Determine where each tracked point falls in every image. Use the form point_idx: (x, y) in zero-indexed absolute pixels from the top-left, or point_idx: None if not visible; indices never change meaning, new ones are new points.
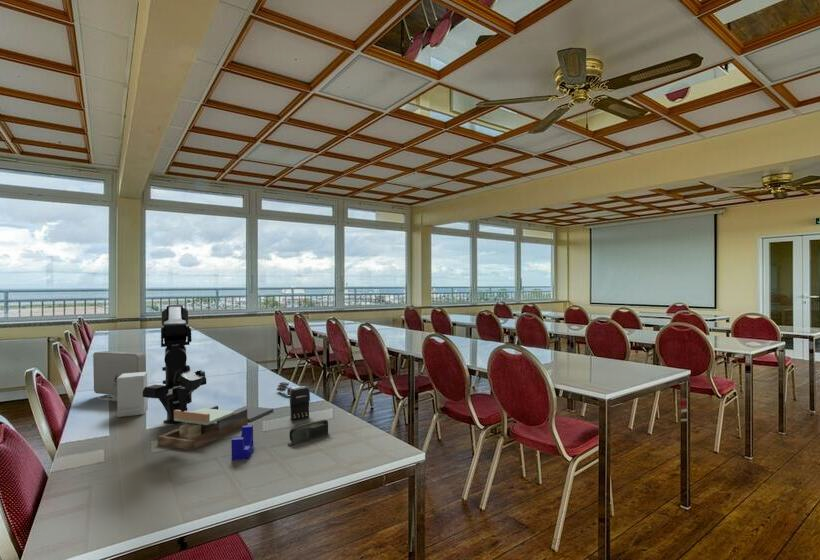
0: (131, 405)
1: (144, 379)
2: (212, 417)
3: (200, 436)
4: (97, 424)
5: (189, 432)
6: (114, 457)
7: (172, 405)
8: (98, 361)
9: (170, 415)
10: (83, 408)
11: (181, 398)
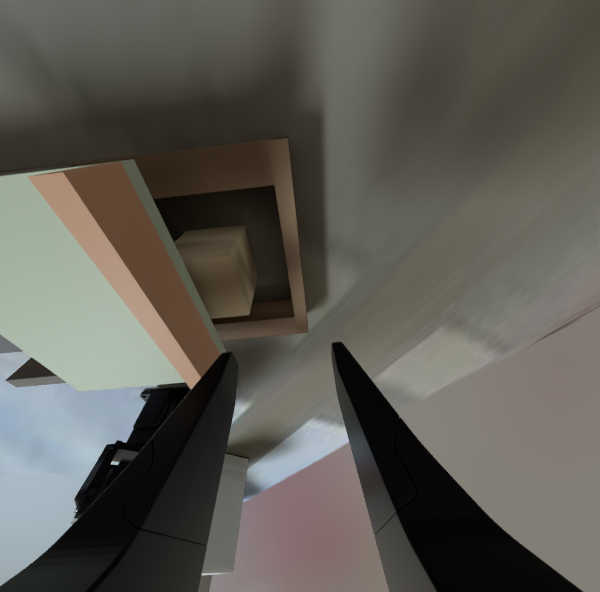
0: (225, 479)
1: None
2: (52, 236)
3: (210, 170)
4: (285, 453)
5: (236, 247)
6: (418, 325)
7: (367, 420)
8: (205, 585)
9: (342, 348)
10: (256, 488)
11: (202, 486)
